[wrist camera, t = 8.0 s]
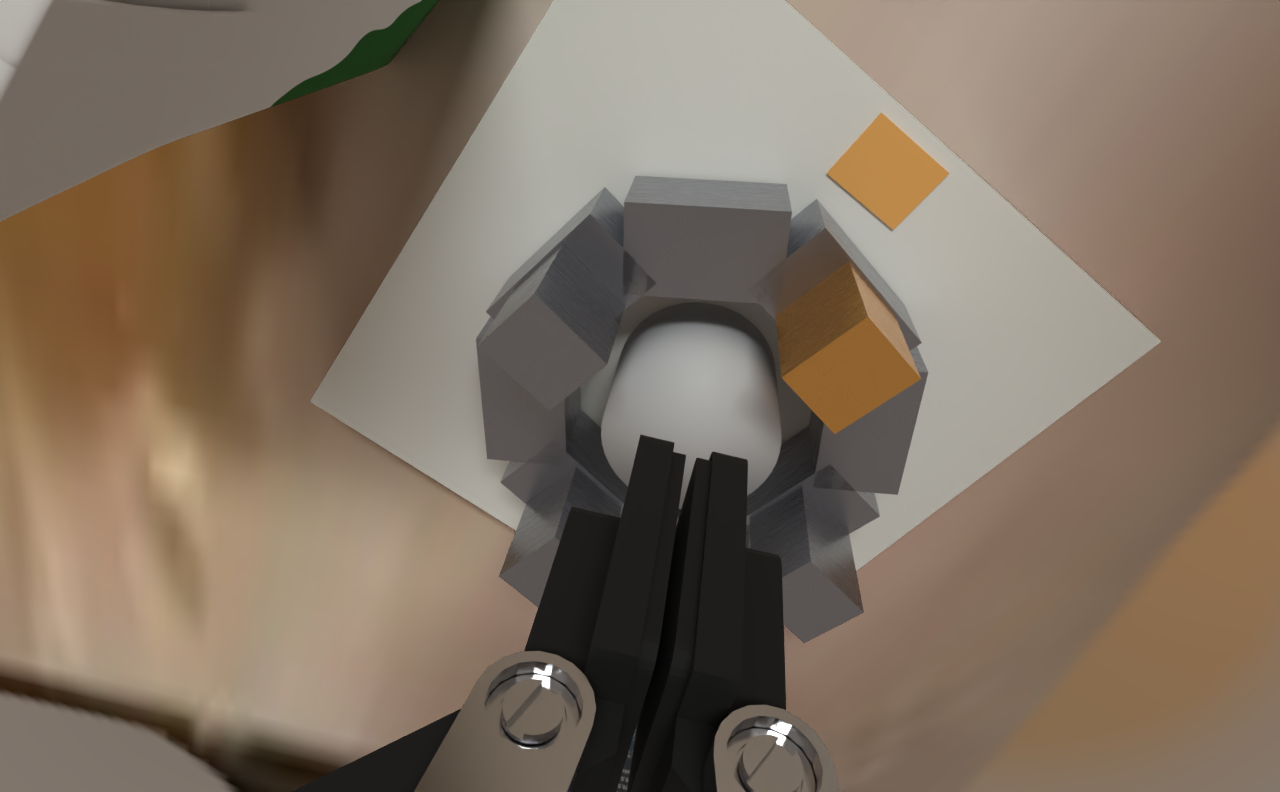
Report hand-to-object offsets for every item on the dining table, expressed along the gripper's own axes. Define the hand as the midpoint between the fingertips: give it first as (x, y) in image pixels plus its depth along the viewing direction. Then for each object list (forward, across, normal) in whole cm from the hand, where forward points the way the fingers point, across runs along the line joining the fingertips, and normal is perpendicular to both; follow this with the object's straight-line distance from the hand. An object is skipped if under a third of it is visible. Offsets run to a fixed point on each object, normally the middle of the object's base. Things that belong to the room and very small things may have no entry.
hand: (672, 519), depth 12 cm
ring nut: (+16, -1, +7) cm, 18 cm away
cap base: (+18, -1, +7) cm, 19 cm away
